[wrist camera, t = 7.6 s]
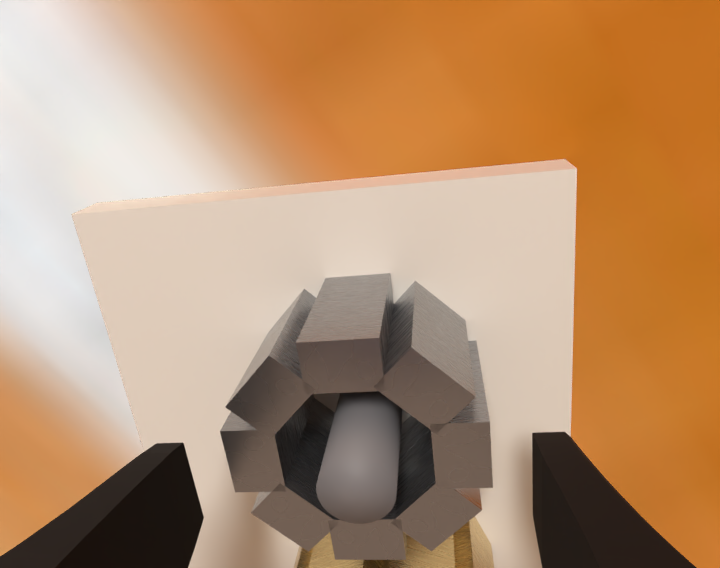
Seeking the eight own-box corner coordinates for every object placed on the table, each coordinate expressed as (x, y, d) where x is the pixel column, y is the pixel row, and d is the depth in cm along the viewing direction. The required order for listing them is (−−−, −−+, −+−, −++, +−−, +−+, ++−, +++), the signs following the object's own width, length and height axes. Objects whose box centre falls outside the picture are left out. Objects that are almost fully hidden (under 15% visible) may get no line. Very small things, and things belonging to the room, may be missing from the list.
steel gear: (286, 462, 16) (251, 559, 13) (249, 283, 14) (198, 348, 11) (482, 457, 15) (496, 559, 12) (472, 267, 13) (485, 332, 10)
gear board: (219, 627, 21) (157, 797, 16) (97, 202, 15) (-56, 271, 10) (557, 635, 19) (600, 828, 14) (564, 159, 13) (639, 217, 9)
